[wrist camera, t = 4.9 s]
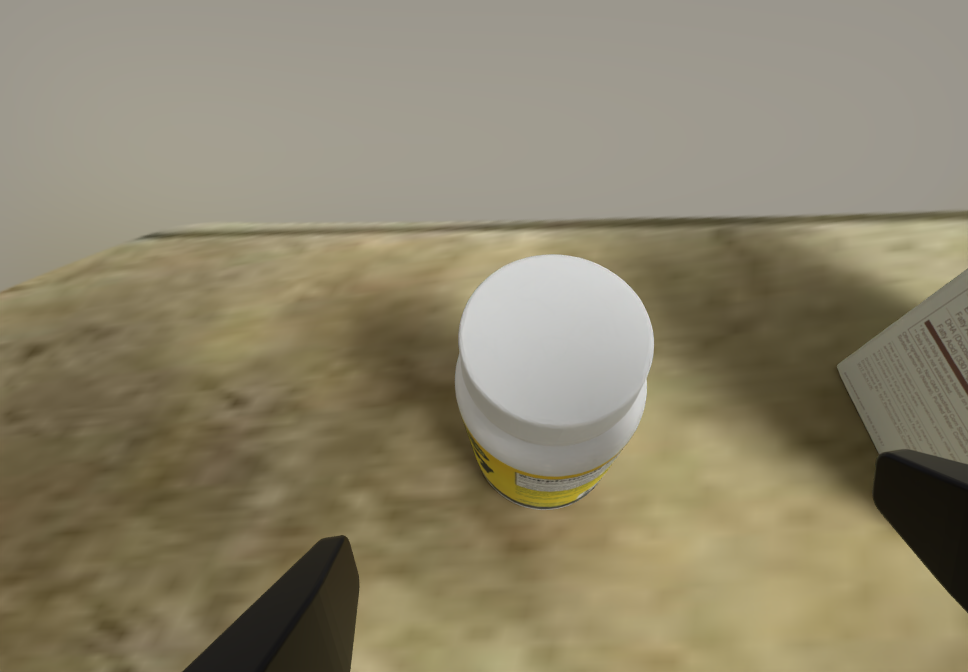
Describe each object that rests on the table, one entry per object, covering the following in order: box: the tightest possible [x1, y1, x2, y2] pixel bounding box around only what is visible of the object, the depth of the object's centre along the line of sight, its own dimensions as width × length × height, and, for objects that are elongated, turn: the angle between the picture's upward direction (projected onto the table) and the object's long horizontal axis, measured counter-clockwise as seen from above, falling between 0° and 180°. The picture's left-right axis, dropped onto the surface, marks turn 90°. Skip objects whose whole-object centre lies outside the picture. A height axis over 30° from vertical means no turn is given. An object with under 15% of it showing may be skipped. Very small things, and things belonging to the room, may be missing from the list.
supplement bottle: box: [455, 254, 654, 510], centre depth 16 cm, size 6×6×10 cm
